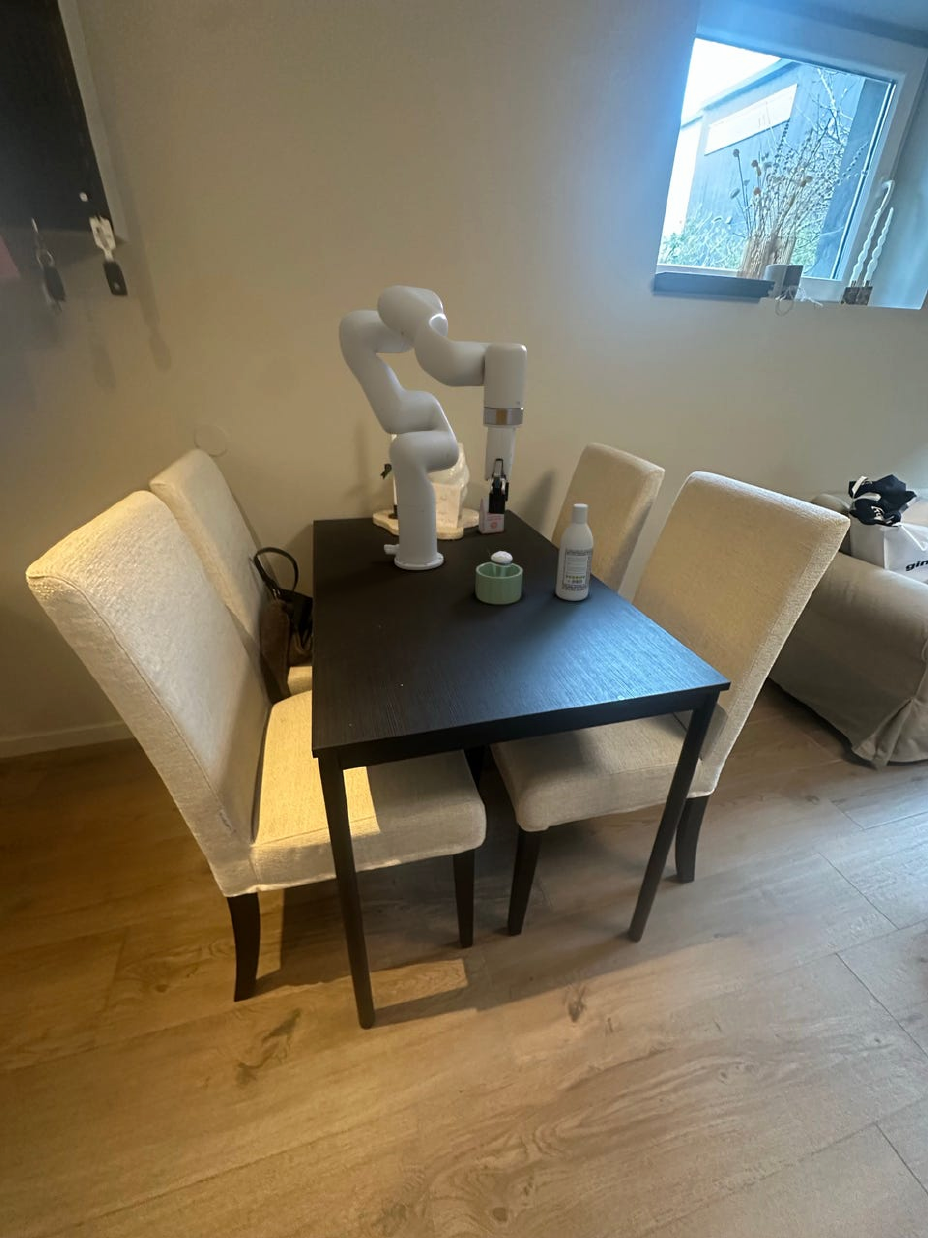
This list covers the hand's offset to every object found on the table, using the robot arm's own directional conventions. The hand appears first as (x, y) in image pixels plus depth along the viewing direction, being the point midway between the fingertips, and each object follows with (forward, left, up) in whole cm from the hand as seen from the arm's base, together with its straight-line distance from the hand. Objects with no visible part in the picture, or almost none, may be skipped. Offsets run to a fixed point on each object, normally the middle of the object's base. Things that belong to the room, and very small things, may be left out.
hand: (498, 506), depth 102 cm
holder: (+1, -1, -19) cm, 19 cm away
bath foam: (+17, +1, -20) cm, 26 cm away
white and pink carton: (-5, +47, -20) cm, 51 cm away
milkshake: (+1, -1, -19) cm, 19 cm away
